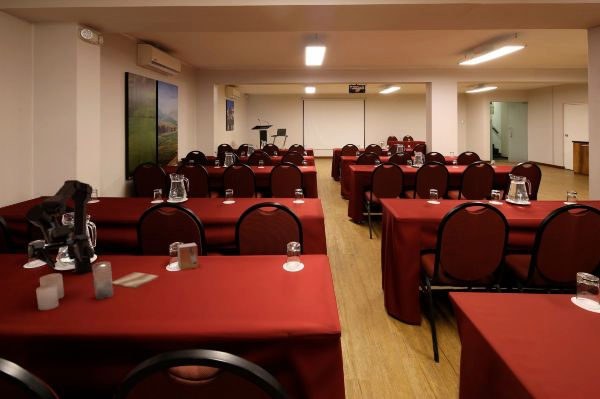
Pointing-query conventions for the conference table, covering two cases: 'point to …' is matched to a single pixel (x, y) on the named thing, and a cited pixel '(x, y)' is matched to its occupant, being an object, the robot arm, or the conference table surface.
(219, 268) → the conference table surface
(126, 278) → the beige square tile
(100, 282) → the steel flask
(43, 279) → the beige rounded block
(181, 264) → the small box
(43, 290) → the white squat cylinder
